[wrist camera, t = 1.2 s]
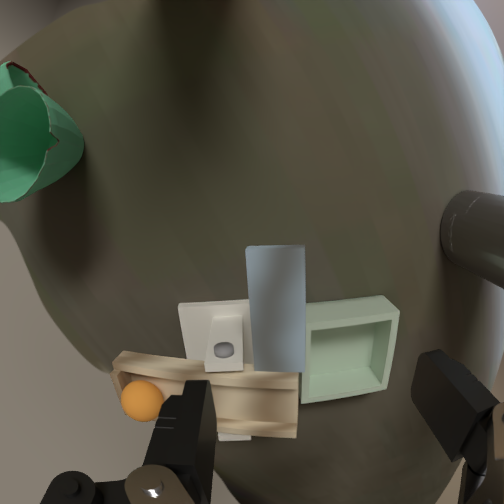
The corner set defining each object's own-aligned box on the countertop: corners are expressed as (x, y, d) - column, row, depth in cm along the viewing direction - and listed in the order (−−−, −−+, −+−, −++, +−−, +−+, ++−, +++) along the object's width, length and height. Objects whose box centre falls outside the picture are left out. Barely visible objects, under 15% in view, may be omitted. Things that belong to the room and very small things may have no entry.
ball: (164, 374, 26) (148, 401, 22) (173, 405, 27) (159, 433, 23) (126, 369, 26) (108, 394, 22) (137, 400, 27) (121, 426, 23)
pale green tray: (382, 294, 32) (399, 311, 28) (373, 368, 35) (386, 388, 30) (294, 304, 32) (302, 323, 28) (295, 379, 34) (301, 403, 30)
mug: (118, 162, 28) (67, 159, 18) (51, 209, 29) (-7, 224, 19) (74, 56, 25) (25, 26, 15) (15, 106, 25) (-40, 95, 16)
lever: (304, 244, 21) (304, 256, 18) (303, 421, 25) (301, 444, 23) (101, 250, 25) (79, 259, 22) (140, 402, 29) (127, 420, 26)
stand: (275, 297, 32) (288, 344, 22) (278, 387, 35) (288, 444, 25) (179, 303, 32) (157, 350, 22) (196, 391, 34) (185, 448, 25)
